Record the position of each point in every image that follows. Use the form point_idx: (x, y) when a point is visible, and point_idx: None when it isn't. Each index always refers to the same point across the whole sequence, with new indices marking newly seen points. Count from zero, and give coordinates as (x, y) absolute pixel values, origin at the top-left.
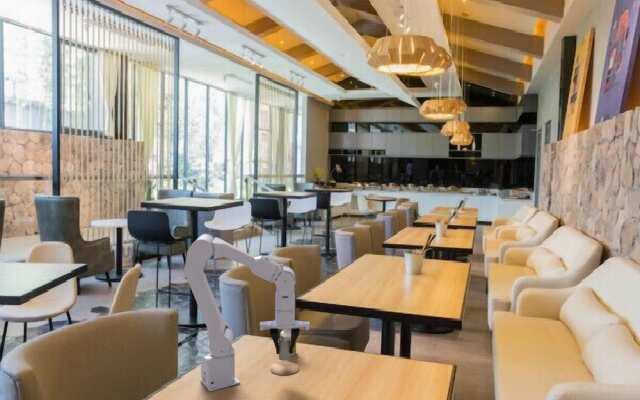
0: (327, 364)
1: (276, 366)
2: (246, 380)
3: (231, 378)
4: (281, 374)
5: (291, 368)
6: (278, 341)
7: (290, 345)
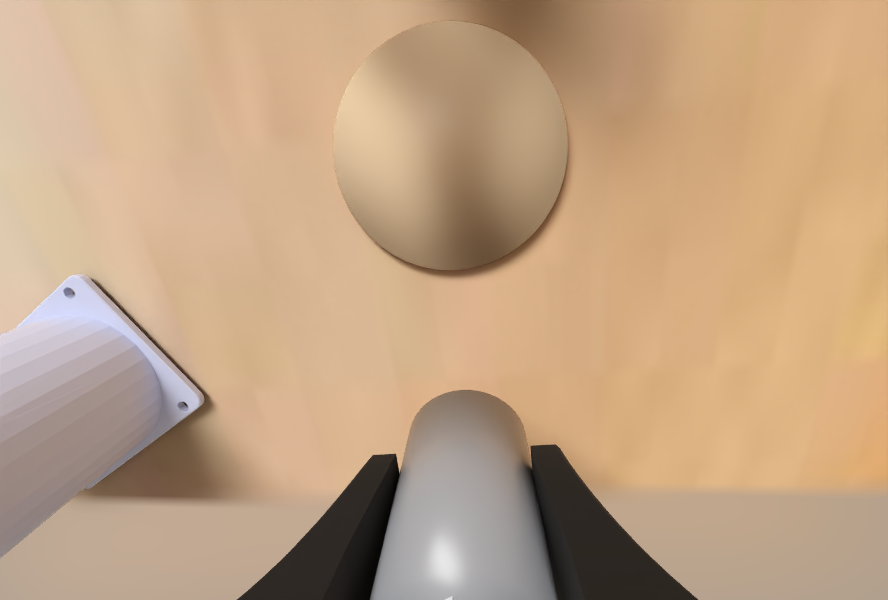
0: (840, 13)
1: (378, 138)
2: (229, 352)
3: (136, 436)
4: (439, 268)
5: (506, 166)
6: (355, 548)
7: (547, 511)
